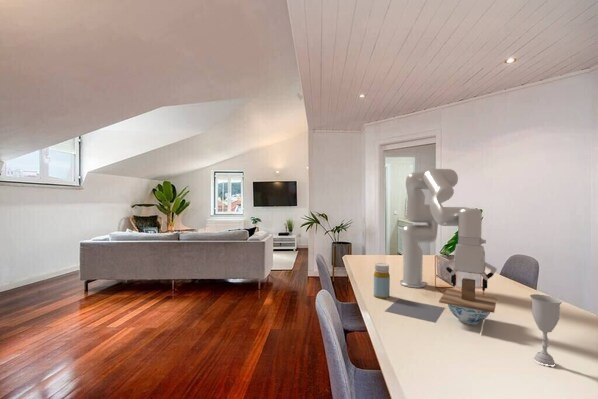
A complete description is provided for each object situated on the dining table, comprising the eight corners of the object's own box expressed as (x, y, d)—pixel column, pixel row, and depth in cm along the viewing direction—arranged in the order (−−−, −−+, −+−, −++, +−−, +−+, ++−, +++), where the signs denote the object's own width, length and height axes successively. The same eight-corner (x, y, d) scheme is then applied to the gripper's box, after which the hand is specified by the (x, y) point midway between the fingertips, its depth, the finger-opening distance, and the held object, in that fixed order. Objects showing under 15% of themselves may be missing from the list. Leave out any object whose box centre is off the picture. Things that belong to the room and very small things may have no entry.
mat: (398, 299, 139) (398, 298, 139) (445, 308, 129) (445, 307, 129) (384, 312, 124) (384, 311, 124) (435, 323, 113) (435, 322, 113)
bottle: (387, 295, 146) (388, 263, 145) (390, 300, 139) (391, 266, 138) (372, 294, 146) (373, 262, 146) (374, 299, 139) (375, 266, 139)
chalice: (522, 356, 90) (523, 294, 90) (544, 355, 91) (545, 294, 91) (544, 370, 83) (545, 303, 83) (568, 369, 84) (569, 302, 83)
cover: (447, 291, 127) (447, 272, 127) (496, 299, 117) (496, 278, 117) (439, 302, 113) (439, 281, 113) (494, 312, 103) (494, 289, 103)
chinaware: (489, 318, 119) (489, 298, 119) (494, 333, 105) (495, 310, 105) (445, 311, 125) (446, 292, 125) (446, 325, 112) (446, 303, 112)
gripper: (497, 242, 113) (496, 289, 113) (445, 238, 123) (445, 281, 123) (496, 245, 107) (495, 294, 107) (442, 240, 117) (441, 286, 117)
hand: (468, 287), depth 115 cm, fingers open, 9 cm apart
